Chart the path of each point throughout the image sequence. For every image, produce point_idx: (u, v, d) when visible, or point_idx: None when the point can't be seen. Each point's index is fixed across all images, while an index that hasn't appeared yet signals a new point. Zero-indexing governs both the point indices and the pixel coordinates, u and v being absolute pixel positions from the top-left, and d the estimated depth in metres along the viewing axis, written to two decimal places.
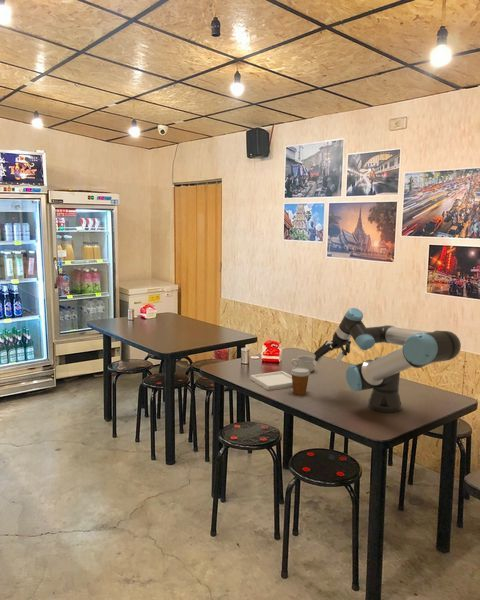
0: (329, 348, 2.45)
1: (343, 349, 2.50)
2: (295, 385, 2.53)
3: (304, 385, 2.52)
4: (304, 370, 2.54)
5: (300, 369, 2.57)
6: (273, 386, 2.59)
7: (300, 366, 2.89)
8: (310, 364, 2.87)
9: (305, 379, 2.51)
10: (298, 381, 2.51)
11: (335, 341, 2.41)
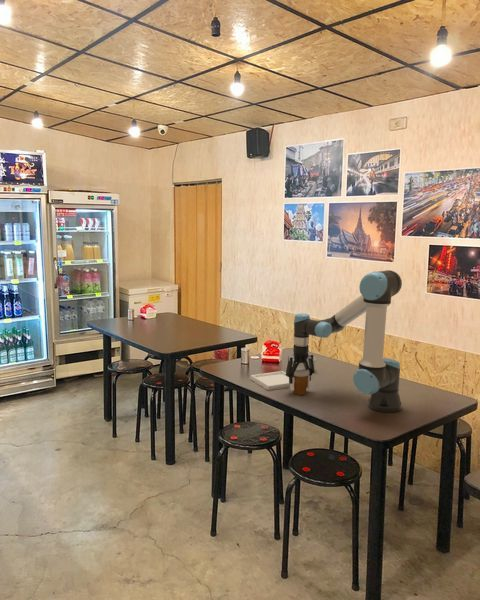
0: (295, 364, 2.52)
1: (307, 365, 2.54)
2: (295, 385, 2.53)
3: (304, 385, 2.52)
4: (304, 370, 2.54)
5: (300, 369, 2.57)
6: (273, 386, 2.59)
7: (300, 366, 2.89)
8: None
9: (305, 379, 2.51)
10: (298, 381, 2.51)
11: (296, 352, 2.50)
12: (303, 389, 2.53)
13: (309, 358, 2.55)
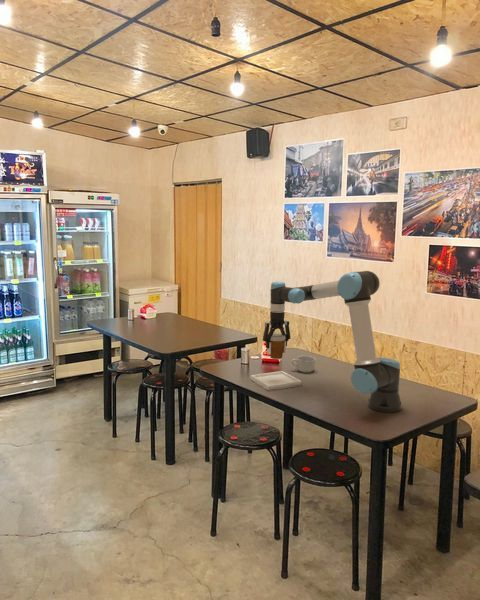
0: (272, 329, 2.65)
1: (283, 331, 2.68)
2: (272, 350, 2.66)
3: (280, 350, 2.66)
4: (280, 336, 2.68)
5: (277, 335, 2.70)
6: (273, 386, 2.59)
7: (300, 366, 2.89)
8: (310, 364, 2.87)
9: (281, 344, 2.65)
10: (274, 345, 2.65)
11: (272, 318, 2.63)
12: (279, 353, 2.66)
13: (285, 324, 2.68)
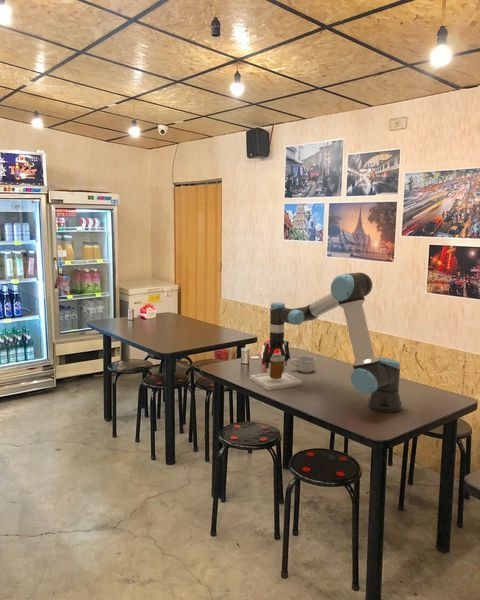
0: (271, 350, 2.67)
1: (283, 351, 2.69)
2: (271, 370, 2.68)
3: (280, 370, 2.67)
4: (280, 356, 2.70)
5: (277, 354, 2.72)
6: (273, 386, 2.59)
7: (300, 366, 2.89)
8: (310, 364, 2.87)
9: (280, 364, 2.67)
10: (274, 366, 2.66)
11: (272, 338, 2.65)
12: (279, 373, 2.68)
13: (285, 344, 2.70)
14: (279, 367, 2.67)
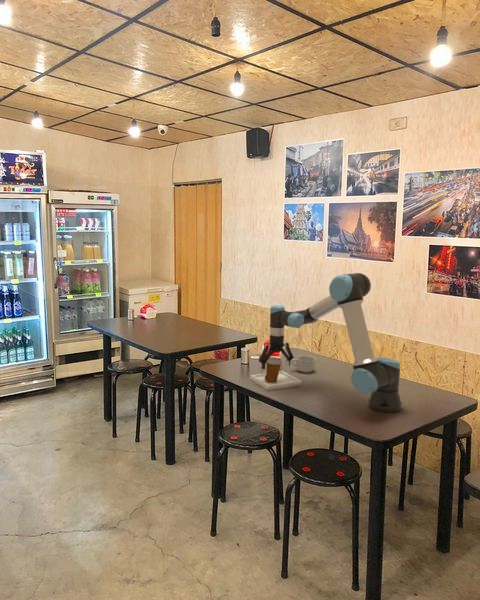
0: (270, 351, 2.66)
1: (285, 353, 2.70)
2: (267, 372, 2.67)
3: (275, 373, 2.66)
4: (277, 359, 2.69)
5: (274, 358, 2.71)
6: (273, 386, 2.59)
7: (300, 366, 2.89)
8: (310, 364, 2.87)
9: (277, 367, 2.66)
10: (270, 368, 2.65)
11: (272, 341, 2.65)
12: (274, 377, 2.67)
13: (285, 346, 2.70)
14: (275, 370, 2.66)
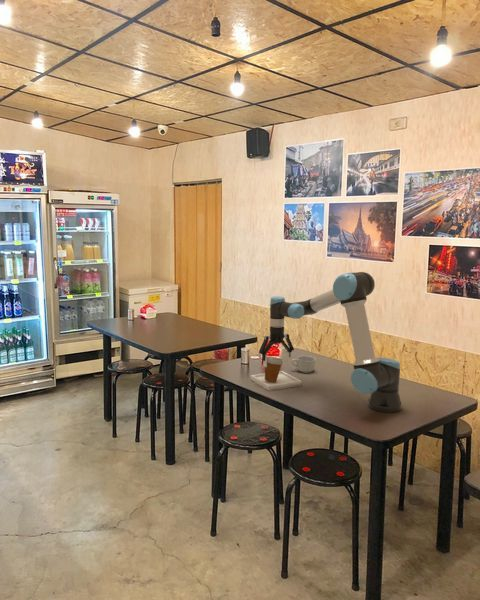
0: (270, 343, 2.66)
1: (285, 344, 2.69)
2: (267, 372, 2.67)
3: (275, 373, 2.66)
4: (278, 359, 2.69)
5: (275, 358, 2.71)
6: (273, 386, 2.59)
7: (300, 366, 2.89)
8: (310, 364, 2.87)
9: (277, 367, 2.66)
10: (270, 368, 2.65)
11: (272, 332, 2.65)
12: (274, 377, 2.66)
13: (285, 338, 2.70)
14: (275, 370, 2.66)
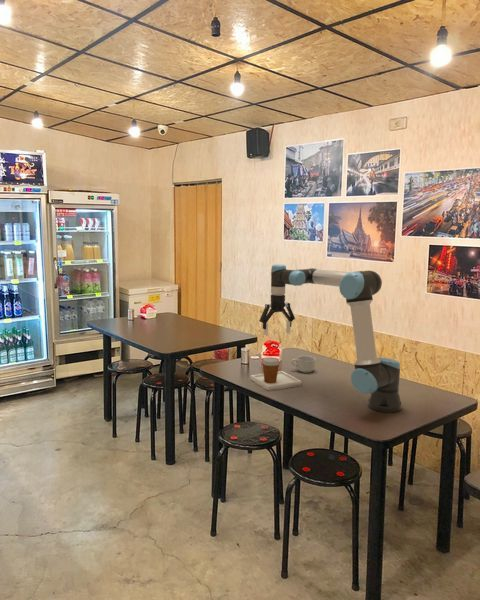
0: (271, 311, 2.63)
1: (286, 313, 2.67)
2: (265, 374, 2.66)
3: (274, 374, 2.66)
4: (274, 360, 2.68)
5: (271, 359, 2.70)
6: (273, 386, 2.59)
7: (300, 366, 2.89)
8: (310, 364, 2.87)
9: (275, 368, 2.65)
10: (268, 370, 2.65)
11: (273, 301, 2.62)
12: (273, 378, 2.66)
13: (286, 307, 2.67)
14: (273, 371, 2.65)
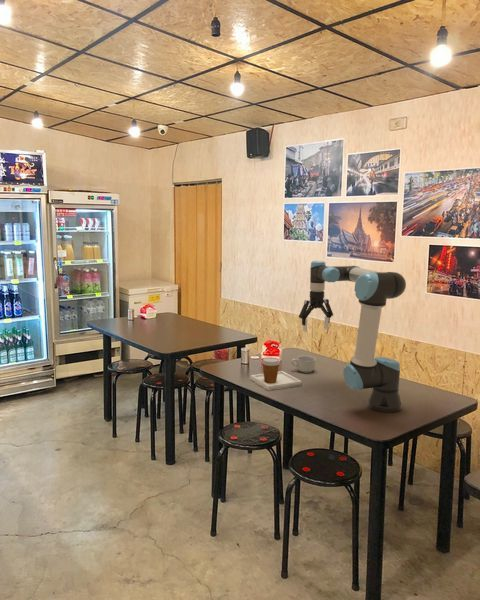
0: (310, 307, 2.64)
1: (325, 309, 2.67)
2: (265, 374, 2.66)
3: (274, 374, 2.66)
4: (274, 360, 2.68)
5: (271, 359, 2.70)
6: (273, 386, 2.59)
7: (300, 366, 2.89)
8: (310, 364, 2.87)
9: (275, 368, 2.65)
10: (268, 370, 2.65)
11: (312, 297, 2.63)
12: (273, 378, 2.66)
13: (325, 303, 2.68)
14: (273, 371, 2.65)
